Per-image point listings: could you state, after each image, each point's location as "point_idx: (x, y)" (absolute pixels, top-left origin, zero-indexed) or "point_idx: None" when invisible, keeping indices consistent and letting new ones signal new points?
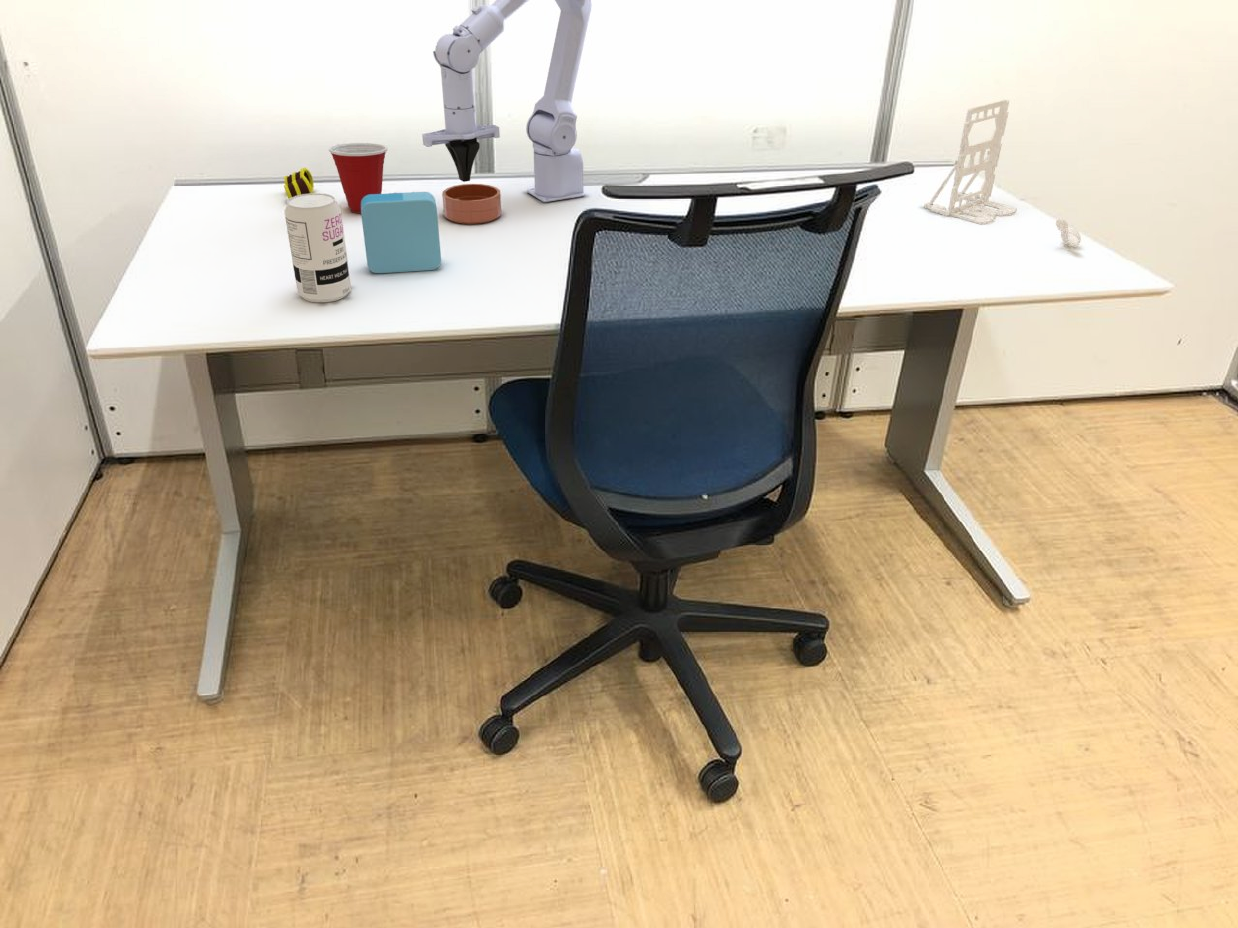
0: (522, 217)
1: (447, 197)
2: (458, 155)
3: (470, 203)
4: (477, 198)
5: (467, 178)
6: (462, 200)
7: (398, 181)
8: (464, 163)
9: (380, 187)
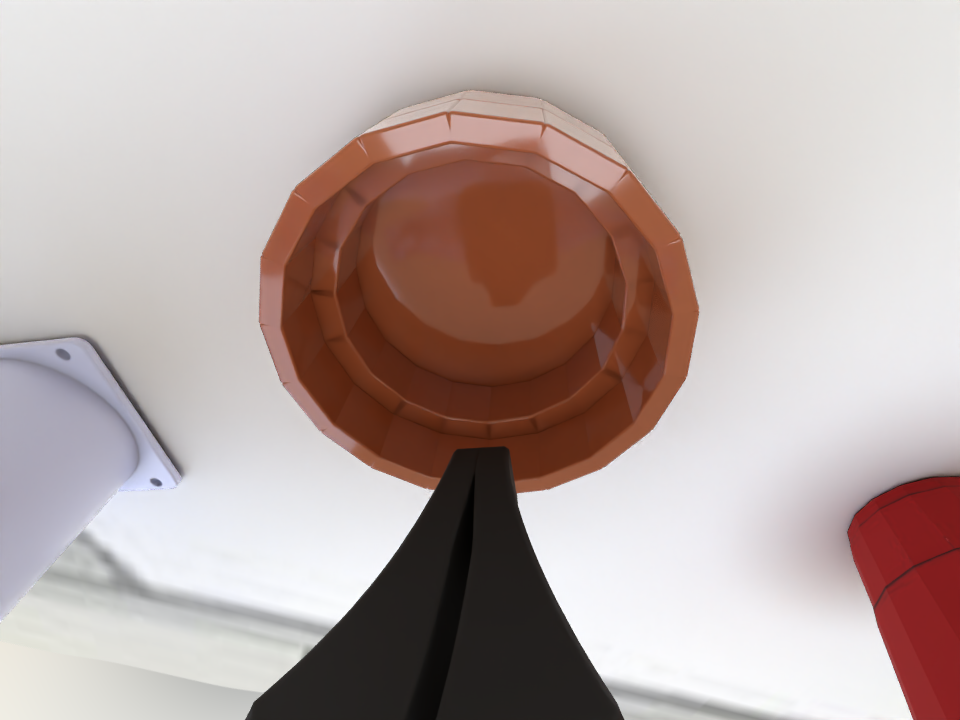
0: (195, 149)
1: (688, 299)
2: (561, 651)
3: (547, 122)
4: (421, 399)
5: (471, 461)
6: (607, 176)
7: (628, 681)
8: (485, 561)
9: (942, 590)
